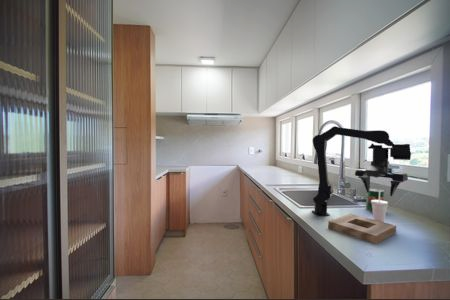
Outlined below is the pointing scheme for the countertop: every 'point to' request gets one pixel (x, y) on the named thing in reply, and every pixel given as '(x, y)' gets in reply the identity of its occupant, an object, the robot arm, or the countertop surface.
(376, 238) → the hole board
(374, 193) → the canned tomato
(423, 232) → the countertop surface
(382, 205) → the smoothie
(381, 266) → the countertop surface
